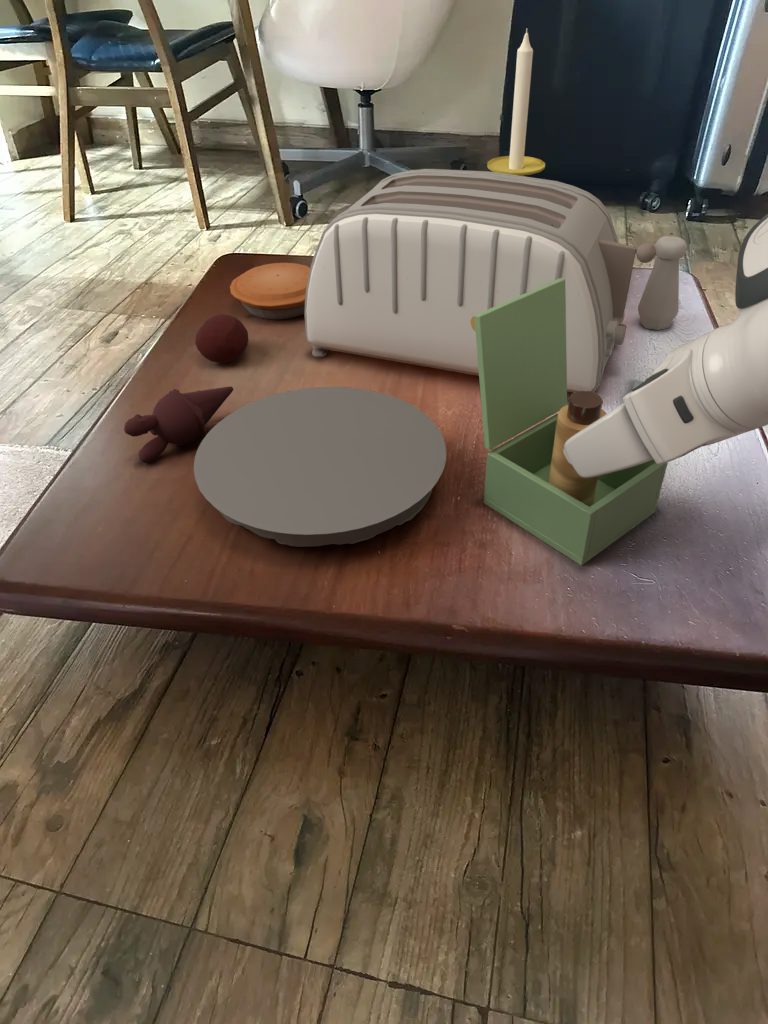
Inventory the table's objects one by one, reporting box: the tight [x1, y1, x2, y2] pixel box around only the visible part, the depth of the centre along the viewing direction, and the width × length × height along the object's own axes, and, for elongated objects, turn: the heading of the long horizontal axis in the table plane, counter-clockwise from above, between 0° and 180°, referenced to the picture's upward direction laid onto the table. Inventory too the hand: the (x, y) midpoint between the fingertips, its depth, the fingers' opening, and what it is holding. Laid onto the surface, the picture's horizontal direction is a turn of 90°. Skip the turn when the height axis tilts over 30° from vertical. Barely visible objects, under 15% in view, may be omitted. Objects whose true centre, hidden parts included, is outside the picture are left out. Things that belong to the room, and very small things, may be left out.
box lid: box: [471, 278, 568, 451], centre depth 82 cm, size 14×13×5 cm
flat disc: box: [193, 386, 447, 548], centre depth 88 cm, size 28×28×4 cm
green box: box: [483, 412, 669, 567], centre depth 83 cm, size 14×13×7 cm
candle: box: [486, 28, 546, 176], centre depth 115 cm, size 10×10×38 cm
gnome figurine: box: [123, 386, 234, 464], centre depth 96 cm, size 7×7×15 cm
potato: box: [194, 313, 249, 364], centre depth 112 cm, size 8×9×6 cm
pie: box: [229, 262, 311, 320], centre depth 125 cm, size 15×16×5 cm
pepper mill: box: [548, 391, 608, 507], centre depth 81 cm, size 5×5×13 cm
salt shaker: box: [637, 235, 688, 331], centre depth 114 cm, size 6×6×13 cm
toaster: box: [304, 168, 656, 393], centre depth 106 cm, size 21×45×22 cm, turn 68°
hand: (601, 435), depth 78 cm, fingers open, 8 cm apart
